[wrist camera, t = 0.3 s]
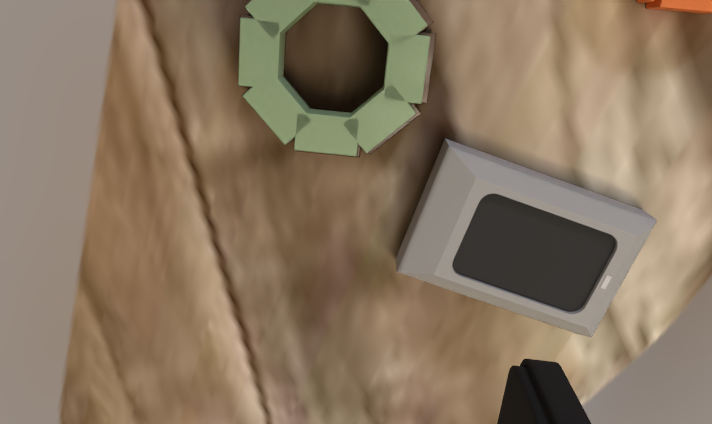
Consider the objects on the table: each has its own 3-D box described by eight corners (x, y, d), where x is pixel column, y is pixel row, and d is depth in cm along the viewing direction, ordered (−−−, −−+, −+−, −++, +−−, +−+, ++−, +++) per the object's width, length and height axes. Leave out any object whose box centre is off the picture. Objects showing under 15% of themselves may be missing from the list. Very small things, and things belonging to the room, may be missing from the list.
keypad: (451, 149, 35) (668, 227, 36) (444, 138, 39) (642, 209, 40) (397, 279, 38) (598, 348, 39) (395, 258, 42) (581, 322, 43)
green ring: (249, -47, 34) (241, -51, 32) (436, -28, 33) (439, -32, 32) (243, 138, 37) (236, 144, 35) (412, 155, 37) (414, 162, 35)
